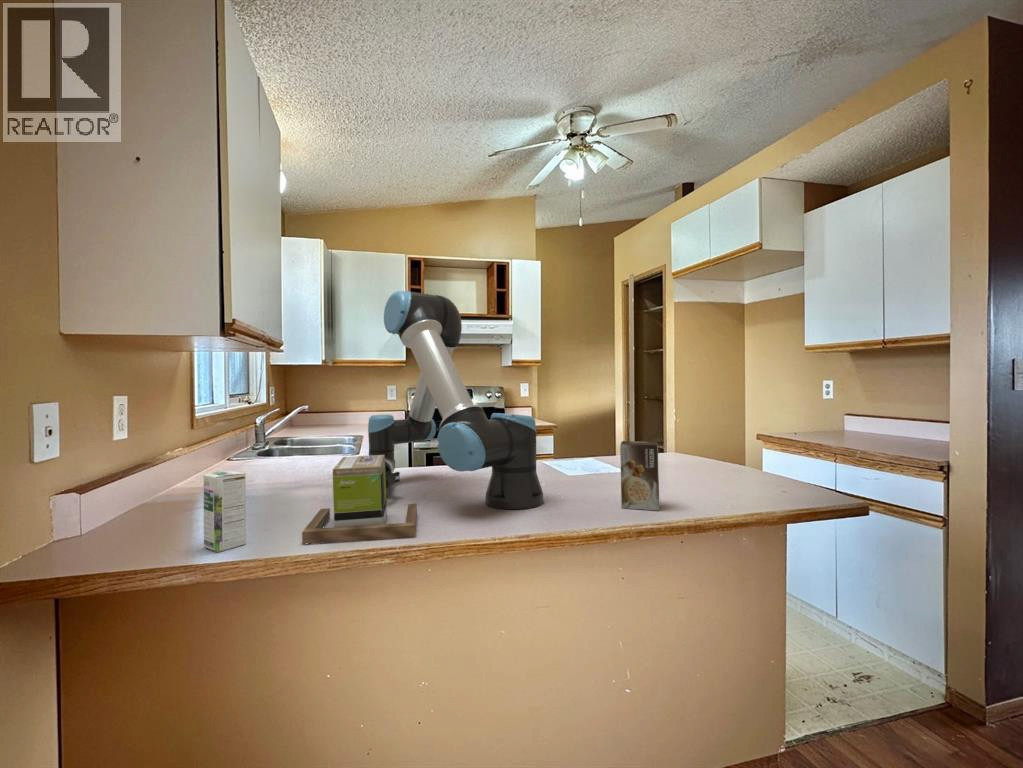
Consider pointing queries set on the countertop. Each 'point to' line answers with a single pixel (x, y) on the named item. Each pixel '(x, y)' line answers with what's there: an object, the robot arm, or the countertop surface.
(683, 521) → the countertop surface
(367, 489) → the tea box
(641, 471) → the coffee box
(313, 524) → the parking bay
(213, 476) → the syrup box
